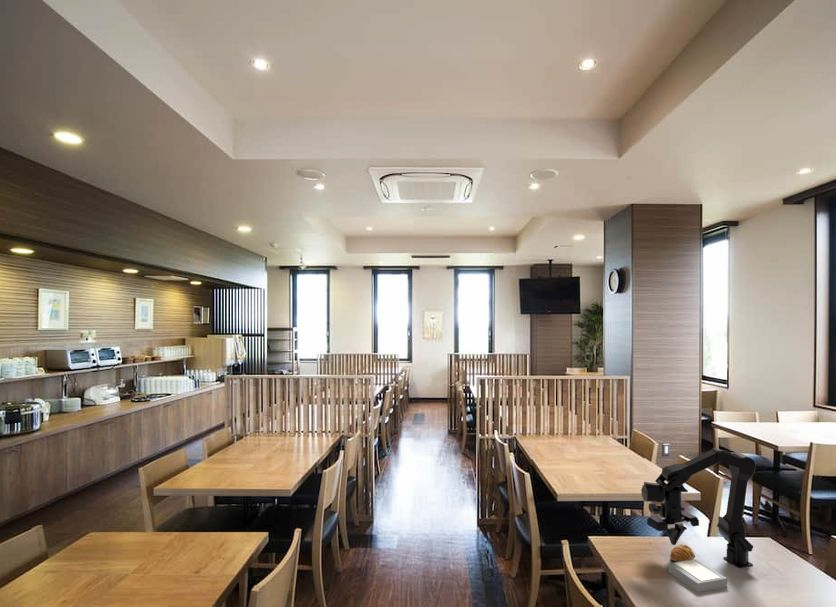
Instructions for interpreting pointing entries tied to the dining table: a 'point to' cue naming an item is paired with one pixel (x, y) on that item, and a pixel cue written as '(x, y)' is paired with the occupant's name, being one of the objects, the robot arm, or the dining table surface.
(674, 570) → the plinth
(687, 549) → the pastry
